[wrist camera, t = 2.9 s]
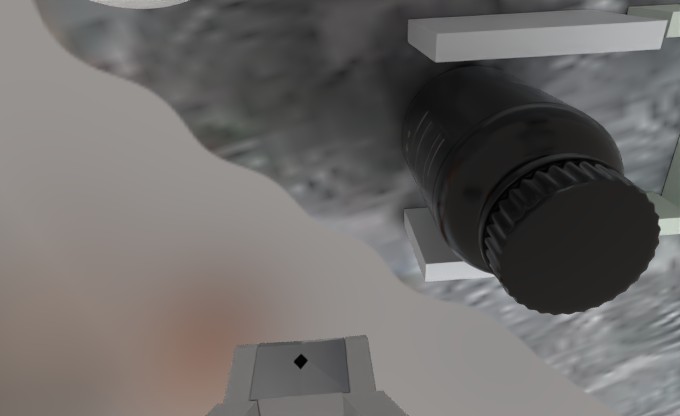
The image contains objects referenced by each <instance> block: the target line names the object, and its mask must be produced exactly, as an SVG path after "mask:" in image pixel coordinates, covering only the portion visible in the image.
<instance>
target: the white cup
mask: <svg viewBox="0 0 680 416" xmlns="http://www.w3.org/2000/svg"><path fill="white" fill-rule="evenodd" d="M90 1H93V2H97V3H100V4H104V5H109V6H114V7H120V8H130V9H153V8H162V7H168V6H173V5H177V4H181V3H184V2H187V1H190V0H90Z"/></svg>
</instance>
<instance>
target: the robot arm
mask: <svg viewBox="0 0 680 416" xmlns="http://www.w3.org/2000/svg"><path fill="white" fill-rule="evenodd" d="M205 416H408V415H407V414H406V413H405V412H404V411H403V410H402V409H401V408H400V407H399V406H398V405H397V404H396V403H395V402H394V401H393V400H392V399H391V398H390V397H389V396H388V395H387V394H386V393H385V392H384V391H376V387H375V381H374V374H373V368H372V362H371V357H370V350H369V344H368V338H367V336H366V335H361V336H350V337H345V340H344V337H343V338H332V339H331V338H330V339H319V340H307V341H294V342H275V343H260V344H247V345H237V346H236V348H235V350H234V353H233V358H232V363H231V368H230V372H229V378H228V382H227V387H226V391H225V396H224V401H223V403H221V404H216V405H215V406H214V407H213V408H212V409H211V410H210V411H209V412H208V413H207V414H206V415H205Z"/></svg>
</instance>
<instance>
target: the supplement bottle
mask: <svg viewBox="0 0 680 416" xmlns="http://www.w3.org/2000/svg"><path fill="white" fill-rule="evenodd" d="M402 146H403V151H404V155H405V158H406V161H407V163H408V166H409V168H410V170H411V172H412V175H413V177H414V179H415V181H416V183H417V185H418V187H419V190H420V192H421V194H422V196H423V198H424V200H425V202H426V205H427V207H428V209H429V211H430V213H431V215H432V217H433V220H434V222H435V224H436V226H437V228H438V230H439V232H440V234H441V236H442V237H443V239H444V241H445V242H446V244H447V245H448V247H449V248H450V249H451V250H452V251H453V252H454V253H455V254H456V255H457V256H458V257H459V258H460V259H461V260H463V261H464V262H465V263H467V264H469V265H470V266H472V267H474V268H476V269H478V270H481V271H483V272H486V273H489V274H493V275H494V276H495V277H496V278H497V279H498V280H499V282H500V283H501V284H502V286H503V288H504V289H505V291H506V292H507V294H509V295H510V296H512V297H513V298H514V300H515V301H516V302H517V303H519V304H523V305H525V306H526V307H527V308H528V309H530V310H537V311H538V312H540V313H550V314H553V315H558V314H562V313H563V314H572V313H575V312H584V311H586V310H588V309H590V308H595V307H599V306H600V305H602V304H603V303H605V302H607V301H611V300H613V299H614V298H615V297H616V296H617V295H618V294H620V293H623V292H625V291H626V290H627V289H628V288H629V286H630V285H631V284H633V283H635V282H636V281H637V280H638V279H639V277H640V275H641V274H642V273H643V272H644V271H645V270H646V269H647V267H648V264H649V262H650V261H651V260H652V258H653V257H654V256H655V249H656V247H657V246H658V244H659V239H658V236H659V233H660V231H661V228H660V226H659V225H658V222H659V215H658V214H657V213H656V212H655V204H654V203H653V202H652V201H651V200H649V199H648V197H647V194H646V193H645V192H644V191H643V190H642V189H640V188H639V187H637V186H636V185H634V183H632V182H631V181H630V180H628V179H627V178H625V177H624V168H623V163H622V158H621V155H620V152H619V150H618V147H617V145H616V143H615V141H614V140H613V139H612V137H611V136H610V134H609V133H608V132H607V131H606V129H605V128H604V127H603V126H602V125H600V124H599V123H598V122H597V121H595V120H594V119H593V118H591V117H590V116H588V115H587V114H585V113H583V112H582V111H580V110H578V109H576V108H574V107H572V106H570V105H568V104H566V103H564V102H562V101H560V100H559V99H557V98H555V97H553V96H551V95H549V94H547V93H545V92H543V91H541V90H539V89H537V88H535V87H533V86H531V85H530V84H528V83H526V82H524V81H522V80H520V79H518V78H516V77H514V76H512V75H510V74H508V73H506V72H504V71H501V70H498V69H496V68H492V67H487V66H475V65H474V66H465V67H460V68H456V69H453V70H450V71H448V72H446V73H444V74H442V75H440V76H438V77H437V78H435V79H434V80H432V81H431V82H429V83H428V84H427V85H426V86H425V87H424V88H423V89H422V90H421V91H420V92H419V93H418V95H417V96H416V97H415V99H414V100H413V102H412V103H411V105H410V107H409V109H408V111H407V114H406V116H405V120H404V123H403V129H402Z"/></svg>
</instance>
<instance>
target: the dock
mask: <svg viewBox="0 0 680 416" xmlns="http://www.w3.org/2000/svg"><path fill="white" fill-rule="evenodd" d="M627 15H632V16H640V17H647V18H654V19H661V20H668V22H667V25H666V29H665V33H664V37H680V4H670V5H653V6H635V7H629V8H628V12H627ZM646 194H647V197H648V199H649V200H651V201H652V202H653V203H654V204H655V212H656V213H657V214H658V215H659V222H658V225H659V226H660V228H661V231H660V233H659V235H670V234H680V137H679V140H678V144H677V147H676V150H675V153H674V157H673V160H672V163H671V166H670V170H669V173H668V176H667V179H666V182H665V186H664V189H663V192H662V195H661V196H660V195H658V194H657V193H655V192H646Z"/></svg>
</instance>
